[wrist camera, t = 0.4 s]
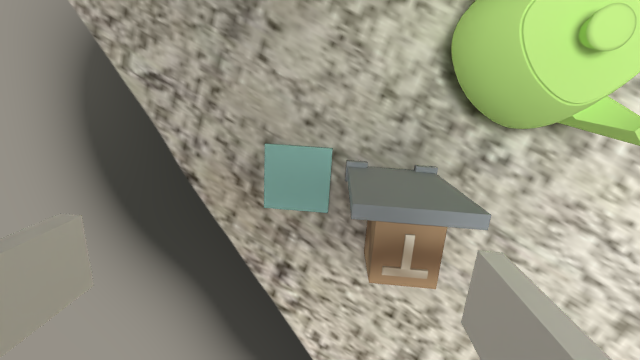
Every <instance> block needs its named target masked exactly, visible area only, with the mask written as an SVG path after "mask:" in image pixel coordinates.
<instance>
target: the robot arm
mask: <svg viewBox="0 0 640 360" xmlns="http://www.w3.org/2000/svg"><path fill="white" fill-rule="evenodd" d="M92 286H94V284H93V278H92V272H91V266H90V260H89V254H88V250H87V243H86V237H85V232H84V226H83V220H82V215H72V214H58V215H55V216H53V217H51V218H48V219H46V220H44V221H41V222H39V223H37V224H34V225H32V226H29V227H27V228H25V229H22V230H20V231H18V232H15V233H13V234H10V235H8V236H6V237H3V238H1V239H0V358H1V357H2V356H3V355H4V354H6V353H7V352H8V351H10V350H11V349H12V348H13V347H15V346H16V345H17V344H19V343H20V342H21V341H22V340H24V339H25V338H26V337H28V336H29V335H30V334H32V333H33V332H34V331H35V330H37V329H38V328H39V327H41V326H42V325H43V324H45V323H46V322H47V321H48V320H50V319H51V318H52V317H53V316H55V315H56V314H57V313H59V312H60V311H61V310H63V309H64V308H65V307H66V306H68V305H69V304H70V303H72V302H73V301H74V300H75V299H77V298H78V297H79V296H81V295H82V294H83V293H85V292H86V291H87V290H89V289H90V288H91V287H92ZM461 323H462V325H463V327H464V329H465V331H466V333H467V335H468V336H469V338H470V340H471V342H472V344H473V346H474V348H475V350H476V352H477V354H478V355H479V357H480V359H481V360H612V359H611V358H610V357H609V356H608V355H607V354H606V353H605V352H604V351H603V350H602V349H601V348H600V347H599V346H598V345H597V344H596V343H595V342H594V341H593V340H592V339H590V338H589V337H588V336H587V335H586V334H585V333H584V332H583V331H582V330H581V329H580V328H579V327H578V326H577V325H576V324H575V323H574V322H573V321H572V320H571V319H570V318H569V317H568V316H567V315H566V314H565V313H564V312H563V311H562V310H561V309H560V308H559V307H558V306H557V305H556V304H555V303H554V302H553V301H552V300H551V299H550V298H549V297H548V296H546V295H545V294H544V293H543V292H542V291H541V290H540V289H539V288H538V287H537V286H536V285H535V284H534V283H533V282H532V281H531V280H530V279H529V278H528V277H527V276H526V275H525V274H524V273H523V272H522V271H521V270H520V269H519V268H518V267H517V266H516V265H515V264H514V263H513V262H512V261H511V260H510V259H509V258H508V257H507V256H506V255H505V254H504V253H500V252H489V251H478V252H477V257H476V261H475V265H474V269H473V274H472V278H471V282H470V286H469V290H468V295H467V299H466V303H465V307H464V312H463V316H462V320H461Z"/></svg>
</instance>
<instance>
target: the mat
mask: <svg viewBox="0 0 640 360" xmlns="http://www.w3.org/2000/svg"><path fill="white" fill-rule="evenodd" d="M332 149H333V148H322V147H308V146H294V145H280V144H265V170H264V208H274V209H286V210H298V211H311V212H323V213H328V204H329V190H330V177H331V163H332Z"/></svg>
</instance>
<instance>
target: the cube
mask: <svg viewBox="0 0 640 360" xmlns="http://www.w3.org/2000/svg"><path fill="white" fill-rule="evenodd" d="M446 231H447V227H443V226H431V225H419V224H407V223H395V222H383V221H371V220H367V229H366V238H365V247H364V254H365V260H366V267H367V273H368V280H369V283H378V284H389V285H399V286H410V287H420V288H431V289H436V286H437V280H438V275H439V269H440V264H441V258H442V253H443V248H444V242H445V237H446Z"/></svg>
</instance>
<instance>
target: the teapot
mask: <svg viewBox="0 0 640 360" xmlns="http://www.w3.org/2000/svg"><path fill="white" fill-rule="evenodd" d="M451 52H452V61H453V66H454V70H455V73H456V76H457V79H458V81H459V84H460V86H461V88H462V90H463V91H464V93H465V95H466V96H467V98H468V99H469V100H470V102H471V103H472V104H473V105H474V106H475V107H476V108H477V109H478V110H479V111H480V112H481V113H482V114H484V115H485V116H486V117H488V118H489V119H491V120H492V121H494V122H496V123H498V124H500V125H502V126H505V127H508V128H516V129H529V128H538V127H543V126H547V125H551V124H554V123H560V124H564V125H567V126H571V127H575V128H578V129H582V130H585V131H589V132H592V133H596V134H600V135H603V136H607V137H610V138H614V139H617V140H621V141H625V142H628V143H632V144H635V145H639V146H640V116H639V115H637V114H636V113H634V112H632V111H631V110H629V109H628V108H626V107H624V106H623V105H621V104H619V103H618V102H616V101H615V100H613V99H611V98H610V97H608V95H609V94H611V93H613V92H614V91H615V90H617V89H618V88H620V87H621V86H623V85H624V84H625V83H627V82H628V81H629V80H630V79H632V78H633V77H634V76H636V75H637V74H638V73H639V72H640V0H476V1H475V2H474V3H473V4H472V5H471V6H470V7H469V8H468V9H467V11H466V12H465V13H464V14H463V15H462V17H461V19H460V20H459V22H458V24H457V26H456V29H455V31H454V34H453V38H452V47H451Z"/></svg>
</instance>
